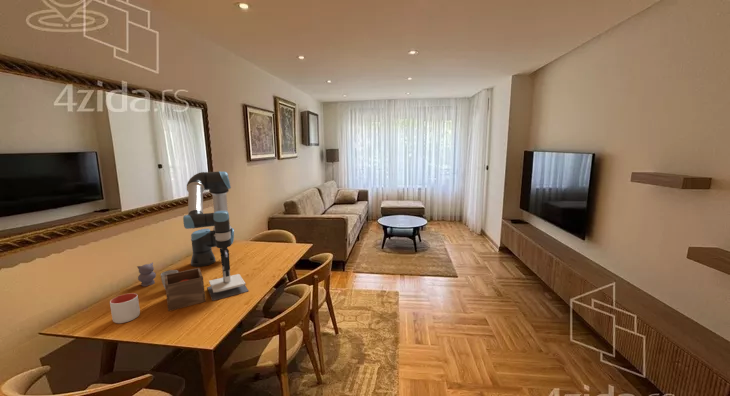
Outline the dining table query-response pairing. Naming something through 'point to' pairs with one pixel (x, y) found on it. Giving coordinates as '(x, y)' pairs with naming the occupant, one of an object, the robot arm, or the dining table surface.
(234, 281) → the lid
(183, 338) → the dining table surface
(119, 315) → the cup
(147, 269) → the cat figurine
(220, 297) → the mat
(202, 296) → the box
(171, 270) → the cup
